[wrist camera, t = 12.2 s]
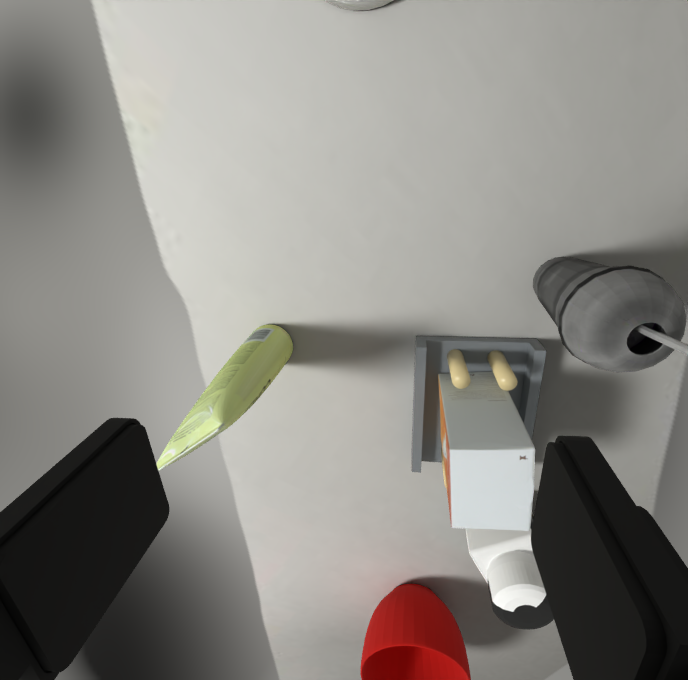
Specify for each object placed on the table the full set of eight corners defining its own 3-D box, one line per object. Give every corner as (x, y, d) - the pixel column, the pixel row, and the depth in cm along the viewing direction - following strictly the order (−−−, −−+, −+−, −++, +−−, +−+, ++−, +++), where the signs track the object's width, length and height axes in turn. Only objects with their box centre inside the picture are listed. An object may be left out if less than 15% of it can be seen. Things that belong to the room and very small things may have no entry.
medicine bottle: (540, 529, 49) (579, 631, 38) (484, 545, 51) (505, 645, 40) (517, 486, 47) (550, 579, 36) (460, 504, 49) (475, 597, 38)
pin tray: (415, 335, 42) (416, 362, 36) (536, 338, 41) (559, 366, 34) (411, 453, 48) (412, 494, 42) (517, 460, 46) (534, 504, 40)
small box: (436, 372, 42) (447, 448, 30) (500, 369, 41) (538, 447, 29) (439, 437, 45) (450, 530, 33) (499, 436, 44) (532, 532, 32)
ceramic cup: (338, 617, 60) (325, 695, 51) (399, 551, 54) (397, 628, 45) (412, 656, 61) (412, 740, 52) (480, 596, 55) (495, 681, 45)
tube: (290, 373, 46) (215, 495, 28) (248, 363, 47) (147, 477, 29) (297, 328, 44) (219, 429, 26) (252, 318, 44) (146, 410, 26)
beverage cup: (512, 253, 38) (609, 321, 20) (596, 231, 36) (790, 284, 18) (523, 324, 40) (620, 445, 22) (603, 307, 38) (782, 422, 20)
